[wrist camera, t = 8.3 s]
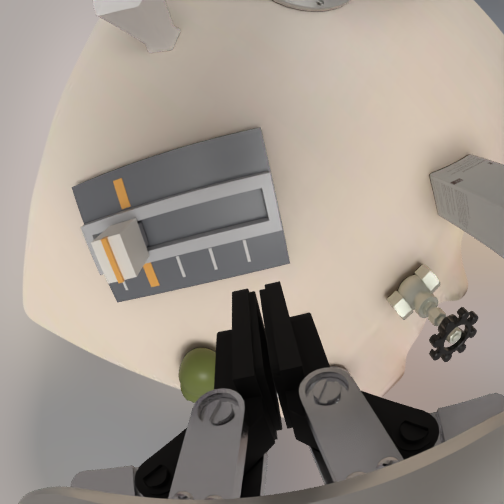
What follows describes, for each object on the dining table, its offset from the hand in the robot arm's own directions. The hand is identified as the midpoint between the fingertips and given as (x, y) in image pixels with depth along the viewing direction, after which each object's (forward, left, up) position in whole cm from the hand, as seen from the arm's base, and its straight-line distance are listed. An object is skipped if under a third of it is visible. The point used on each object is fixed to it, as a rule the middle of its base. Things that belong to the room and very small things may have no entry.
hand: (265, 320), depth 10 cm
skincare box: (+4, +26, -21) cm, 33 cm away
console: (+1, -7, -21) cm, 22 cm away
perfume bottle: (-18, -4, -21) cm, 28 cm away
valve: (+16, +18, -21) cm, 32 cm away
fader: (+1, -12, -19) cm, 22 cm away
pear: (+21, -11, -21) cm, 32 cm away
